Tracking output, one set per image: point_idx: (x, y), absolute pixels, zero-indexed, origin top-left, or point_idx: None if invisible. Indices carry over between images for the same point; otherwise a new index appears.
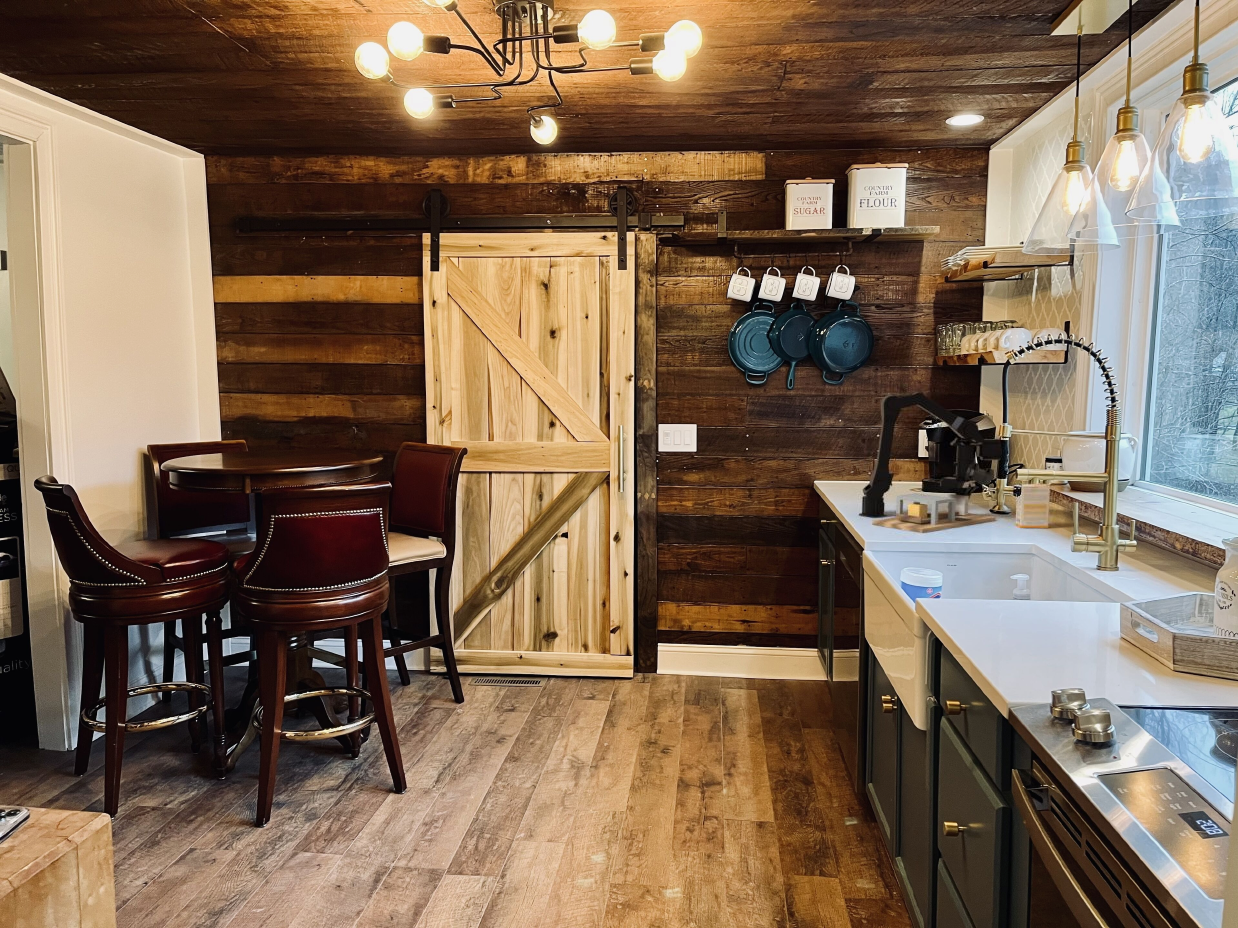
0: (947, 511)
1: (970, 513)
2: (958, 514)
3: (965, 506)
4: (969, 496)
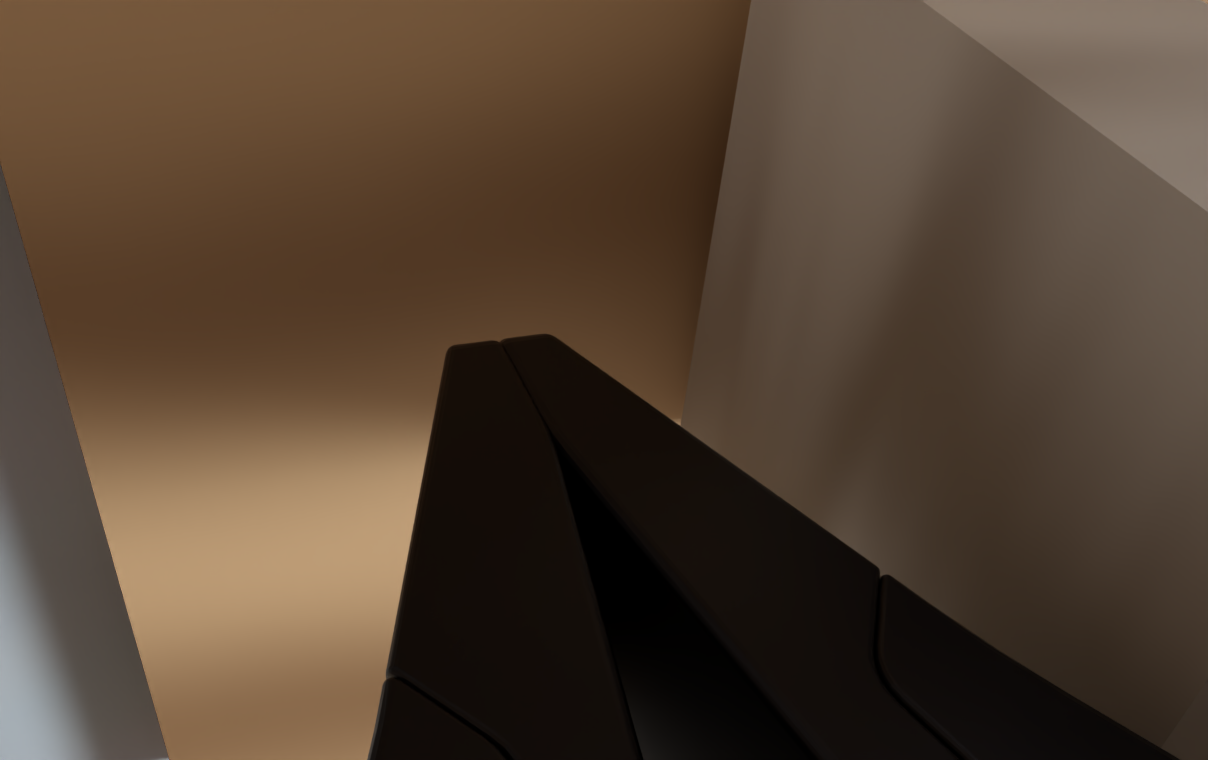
0: (377, 685)
1: (49, 227)
2: (624, 271)
3: (1166, 22)
4: (488, 720)
